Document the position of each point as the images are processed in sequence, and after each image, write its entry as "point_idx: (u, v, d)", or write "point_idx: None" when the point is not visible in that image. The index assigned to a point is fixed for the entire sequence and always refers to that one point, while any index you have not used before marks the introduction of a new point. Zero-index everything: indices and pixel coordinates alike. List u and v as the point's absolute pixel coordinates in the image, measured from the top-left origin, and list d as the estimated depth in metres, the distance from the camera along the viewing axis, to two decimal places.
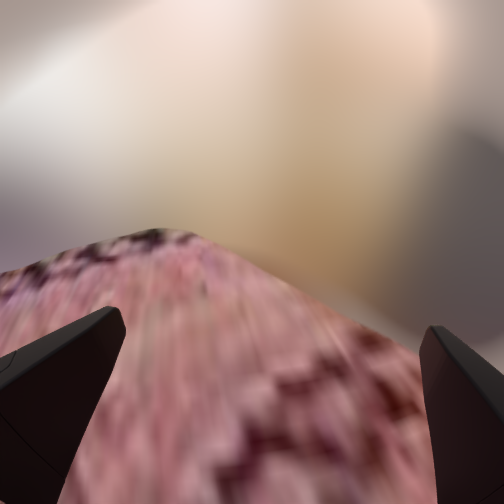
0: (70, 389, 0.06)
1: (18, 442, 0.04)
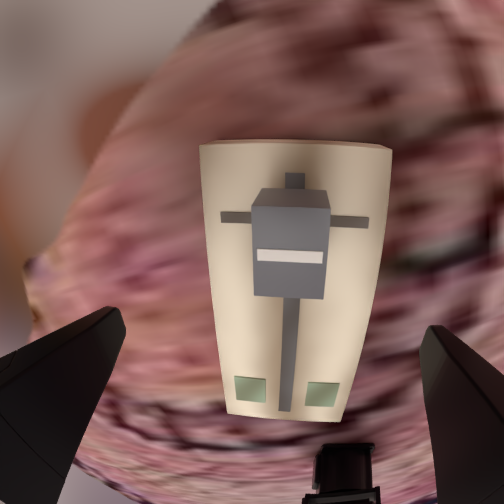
0: (70, 389, 0.06)
1: (19, 443, 0.04)
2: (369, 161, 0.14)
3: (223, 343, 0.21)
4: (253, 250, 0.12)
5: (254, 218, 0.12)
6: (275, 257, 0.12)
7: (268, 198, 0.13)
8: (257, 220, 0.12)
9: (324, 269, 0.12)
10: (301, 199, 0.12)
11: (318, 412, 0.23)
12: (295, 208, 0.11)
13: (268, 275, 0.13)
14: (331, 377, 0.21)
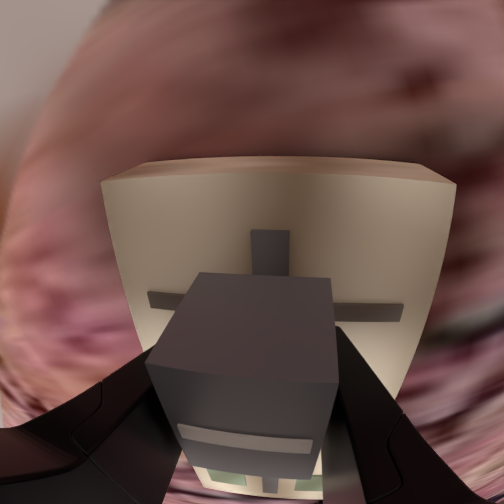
0: None
1: (118, 495, 0.04)
2: (414, 207, 0.07)
3: None
4: (172, 424, 0.05)
5: (158, 384, 0.05)
6: (216, 437, 0.05)
7: (195, 324, 0.05)
8: (165, 387, 0.05)
9: (314, 456, 0.05)
10: (270, 330, 0.05)
11: (310, 494, 0.16)
12: (248, 380, 0.04)
13: (209, 453, 0.06)
14: None
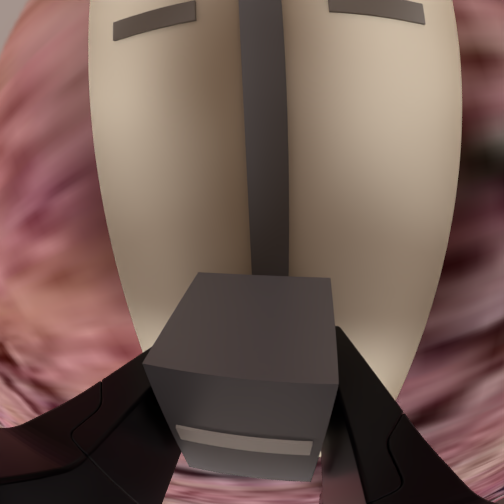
0: None
1: (118, 495, 0.04)
2: None
3: (140, 316, 0.10)
4: (170, 425, 0.05)
5: (155, 385, 0.05)
6: (215, 438, 0.05)
7: (194, 324, 0.05)
8: (163, 388, 0.05)
9: (314, 458, 0.05)
10: (269, 330, 0.05)
11: None
12: (247, 381, 0.04)
13: (208, 455, 0.06)
14: None
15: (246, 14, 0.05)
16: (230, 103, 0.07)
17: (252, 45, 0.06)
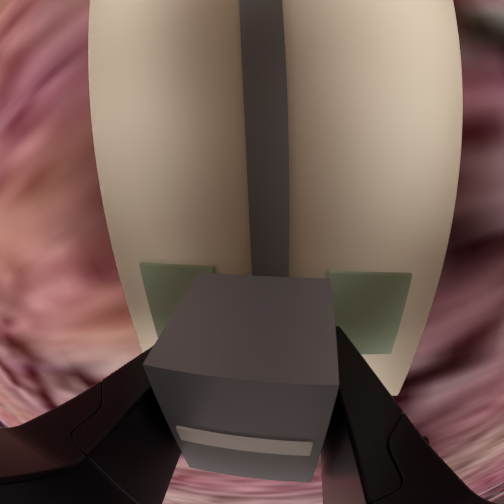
0: None
1: (118, 495, 0.04)
2: None
3: (107, 157, 0.08)
4: (170, 425, 0.05)
5: (156, 385, 0.05)
6: (215, 440, 0.05)
7: (194, 325, 0.05)
8: (163, 389, 0.05)
9: (314, 458, 0.05)
10: (270, 331, 0.05)
11: None
12: (247, 382, 0.04)
13: (208, 455, 0.06)
14: (392, 251, 0.08)
15: None
16: None
17: None
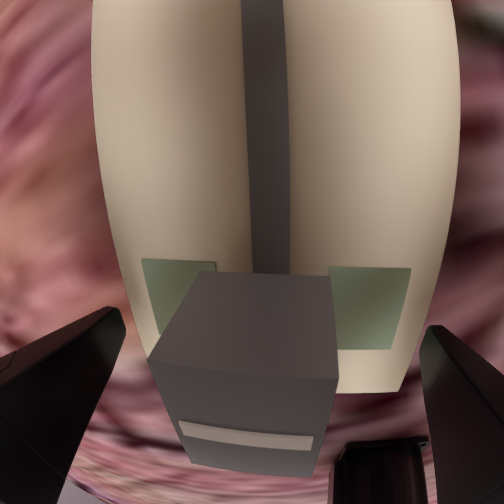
0: (70, 389, 0.06)
1: (18, 442, 0.04)
2: None
3: (109, 154, 0.08)
4: (173, 421, 0.05)
5: (159, 380, 0.05)
6: (218, 434, 0.05)
7: (197, 321, 0.05)
8: (167, 384, 0.05)
9: (315, 453, 0.05)
10: (271, 327, 0.05)
11: (352, 368, 0.10)
12: (249, 376, 0.04)
13: (210, 451, 0.06)
14: (391, 246, 0.08)
15: None
16: None
17: None
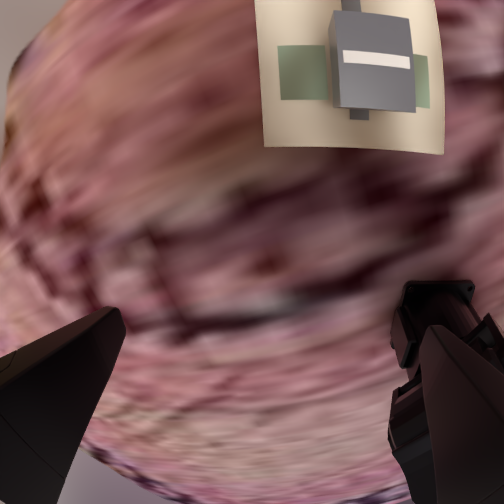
0: (70, 389, 0.06)
1: (18, 442, 0.04)
2: None
3: None
4: (338, 52, 0.09)
5: (337, 21, 0.08)
6: (362, 60, 0.09)
7: None
8: (340, 23, 0.08)
9: (412, 77, 0.09)
10: None
11: (409, 124, 0.13)
12: (377, 14, 0.08)
13: (357, 81, 0.09)
14: (413, 43, 0.11)
15: None
16: None
17: None
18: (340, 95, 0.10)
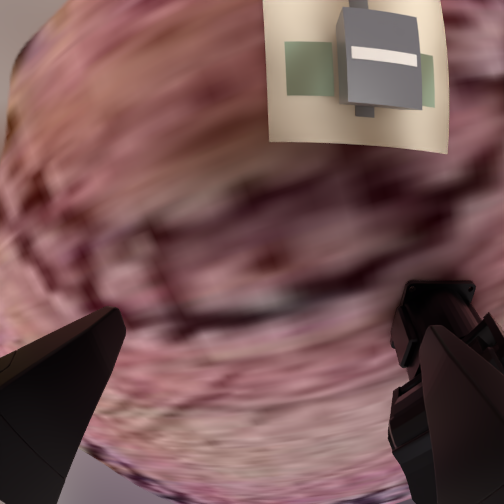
0: (70, 389, 0.06)
1: (19, 443, 0.04)
2: None
3: None
4: (347, 48, 0.09)
5: (346, 18, 0.08)
6: (370, 57, 0.09)
7: None
8: (349, 19, 0.08)
9: (419, 74, 0.09)
10: None
11: (414, 123, 0.13)
12: (385, 12, 0.08)
13: (364, 77, 0.09)
14: None
15: None
16: None
17: None
18: (348, 90, 0.10)
